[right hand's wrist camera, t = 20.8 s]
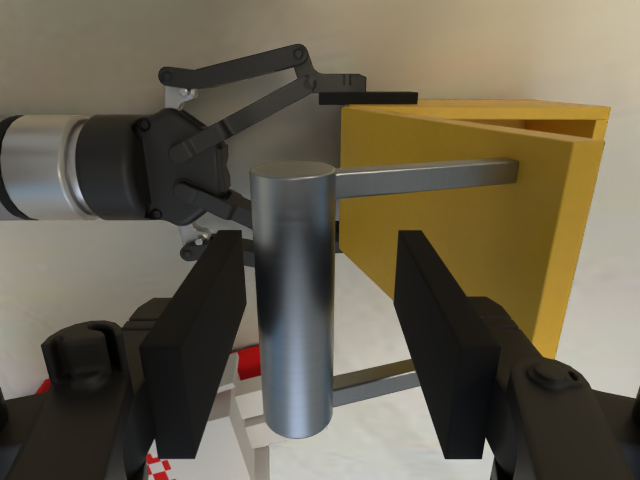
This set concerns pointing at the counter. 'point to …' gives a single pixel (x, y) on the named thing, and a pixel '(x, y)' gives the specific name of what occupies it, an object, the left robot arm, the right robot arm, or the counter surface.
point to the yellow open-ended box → (513, 114)
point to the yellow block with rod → (410, 214)
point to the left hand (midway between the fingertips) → (408, 167)
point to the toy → (225, 430)
